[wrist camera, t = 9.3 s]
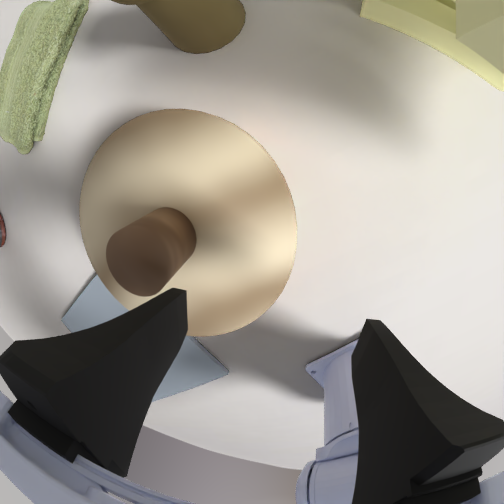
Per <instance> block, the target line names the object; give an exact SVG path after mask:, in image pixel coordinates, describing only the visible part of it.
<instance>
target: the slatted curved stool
mask: <svg viewBox="0 0 504 504" xmlns="http://www.w3.org/2000/svg"><path fill="white" fill-rule="evenodd" d="M360 17H363V18H366V19H369V20H372V21H374V22H377V23H380V24H382V25H385V26H387V27H390V28H392V29H395V30H397V31H399V32H402V33H404V34H406V35H408V36H410V37H413V38H415V39H417V40H419V41H421V42H423V43H425V44H427V45H429V46H431V47H432V48H434V49H436V50H438V51H440V52H442V53H443V54H445V55H447V56H448V57H450V58H452V59H454V60H455V61H457V62H458V63H460V64H462V65H463V66H465V67H466V68H468V69H469V70H471V71H472V72H474V73H475V74H477V75H478V76H479V77H481V78H482V79H484V80H485V81H486V82H488V83H489V84H490V85H492V86H493V87H495V88H496V89H498V90H501V91H503V92H504V0H363V1H362V6H361V12H360Z"/></svg>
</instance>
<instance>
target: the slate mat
mask: <svg viewBox="0 0 504 504" xmlns="http://www.w3.org/2000/svg"><path fill="white" fill-rule="evenodd" d="M128 311H129V310H128V309H126V308H125V307H124V306H123V305H122V304H121V303H120V302H119V301H118V300H116V299H115V298H114V296H113V295H112V294H111V293H110V292H109V291H108V289H107V288H106V287H105V285H104V284H103V283H102V281H101V280H100V278H99V277H98V275H96V276H95V277H94V278H93V280H92V281H91V282H90V283H89V285H88V286H87V287H86V288H85V290H84V291H83V292H82V293H81V295H80V296H79V297H78V299H77V300H76V301H75V302H74V304H73V305H72V306H71V308H70V309H69V310H68V312H67V313H66V314H65V316H64V317H63V318H62V320H61V321H62V322H63V323H64V324H65V325H66V327H67V328H68V329H69V330H70V331H71V332H72V333H74V332H77V331H81V330H84V329H88V328H91V327H94V326H96V325H99V324H102V323H104V322H107V321H109V320H111V319H114V318H116V317H118V316H120V315H122V314H124V313H126V312H128ZM228 373H229V370H228V369H226V368H225V367H224V366H223V365H222V364H221V363H220V362H219V361H218V360H217V359H216V358H214V357H213V356H212V355H211V354H210V353H209V352H208V351H207V350H206V349H205V348H204V347H203V346H202V345H201V344H200V343H199V342H198V341H197V340H196V339H195V338H194V337H193V336H187V335H186V336H185V339H184V341H183V344H182V346H181V349H180V351H179V352H178V354H177V356H176V358H175V360H174V361H173V363H172V365H171V367H170V368H169V370H168V372H167V373H166V375H165V377H164V379H163V380H162V382H161V384H160V386H159V387H158V389H157V391H156V393H155V395H154V397H153V399H152V402H153V401H156V400H159V399H163V398H166V397H169V396H172V395H175V394H177V393H180V392H183V391H186V390H189V389H192V388H194V387H197V386H200V385H202V384H205V383H208V382H210V381H213V380H215V379H218V378H220V377H223V376H225V375H228Z"/></svg>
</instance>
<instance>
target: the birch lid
mask: <svg viewBox="0 0 504 504" xmlns="http://www.w3.org/2000/svg"><path fill="white" fill-rule="evenodd" d="M79 217H80V227H81V233H82V238H83V242H84V245H85V249H86V252H87V255H88V257H89V259H90V261H91V264H92V266H93V268H94V270H95V271H96V273H97V275H98V277H99V278H100V280H101V281H102V283H103V284H104V285H105V287H106V288H107V289H108V291H109V292H110V293H111V294H112V295H113V296H114V298H115V299H116V300H118V301H119V302H120V303H121V304H122V305H123V306H124V307H125V308H126V309H128V310H129V311H130V310H132V309H134V308H136V307H138V306H140V305H141V304H143V303H145V302H147V301H149V300H151V299H152V298H154V297H156V296H158V295H159V294H161V293H163V292H165V291H167V290H169V289H171V288H178V289H183V290H187V317H188V331H187V334H186V335H187V336H203V337H205V336H215V335H221V334H225V333H229V332H232V331H235V330H237V329H240V328H242V327H244V326H246V325H248V324H250V323H251V322H253V321H255V320H256V319H257V318H259V317H260V316H261V315H263V314H264V313H265V312H266V311H267V310H268V309H269V308H270V307H271V306H272V305H273V304H274V302H275V301H276V300H277V298H278V297H279V295H280V294H281V293H282V291H283V289H284V287H285V285H286V283H287V281H288V279H289V276H290V273H291V270H292V267H293V264H294V259H295V253H296V245H297V222H296V214H295V208H294V204H293V200H292V196H291V193H290V190H289V188H288V186H287V183H286V181H285V178H284V176H283V174H282V173H281V171H280V169H279V168H278V166H277V164H276V163H275V161H274V160H273V159H272V157H271V156H270V155H269V154H268V152H267V151H266V150H265V149H264V148H263V146H262V145H260V144H259V143H258V142H257V141H256V140H255V139H254V138H253V137H252V136H251V135H250V134H248V133H247V132H245V131H244V130H242V129H241V128H239V127H238V126H236V125H235V124H233V123H231V122H229V121H227V120H224V119H222V118H220V117H217V116H214V115H211V114H208V113H204V112H201V111H195V110H188V109H164V110H159V111H154V112H150V113H147V114H144V115H141V116H138V117H136V118H134V119H132V120H131V121H129V122H127V123H125V124H124V125H122V126H121V127H120V128H118V129H117V130H116V131H114V132H113V133H112V134H111V135H110V136H109V137H108V138H107V139H106V140H105V141H104V142H103V144H102V145H101V146H100V148H99V149H98V150H97V152H96V153H95V155H94V157H93V159H92V161H91V162H90V164H89V167H88V169H87V172H86V174H85V177H84V181H83V185H82V189H81V195H80V206H79Z"/></svg>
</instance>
